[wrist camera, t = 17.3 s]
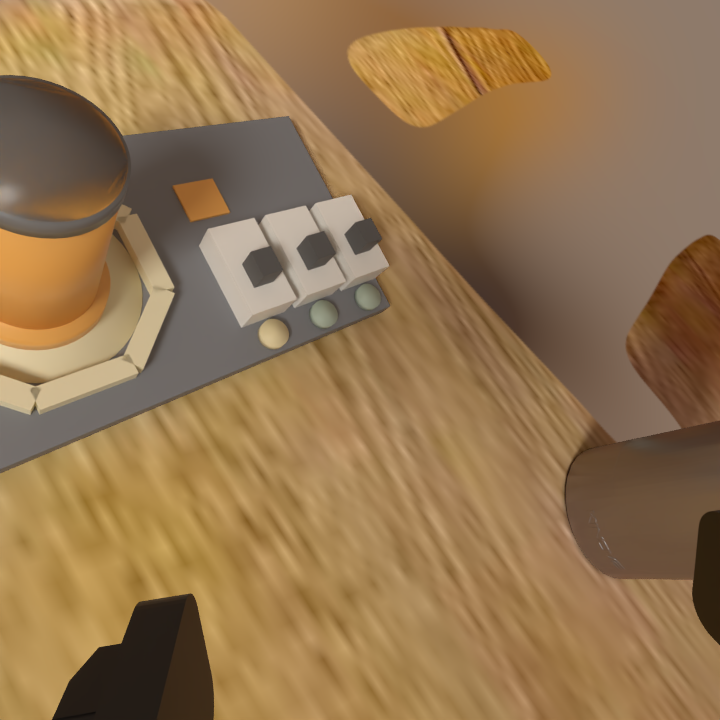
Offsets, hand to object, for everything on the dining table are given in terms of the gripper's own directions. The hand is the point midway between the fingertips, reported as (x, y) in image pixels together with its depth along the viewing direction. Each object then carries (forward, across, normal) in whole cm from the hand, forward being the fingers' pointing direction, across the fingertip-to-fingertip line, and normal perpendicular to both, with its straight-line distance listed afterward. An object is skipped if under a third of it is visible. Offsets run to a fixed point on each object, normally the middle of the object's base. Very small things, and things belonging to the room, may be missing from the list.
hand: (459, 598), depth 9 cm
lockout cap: (+20, +14, -4) cm, 24 cm away
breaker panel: (+24, +9, -4) cm, 26 cm away
